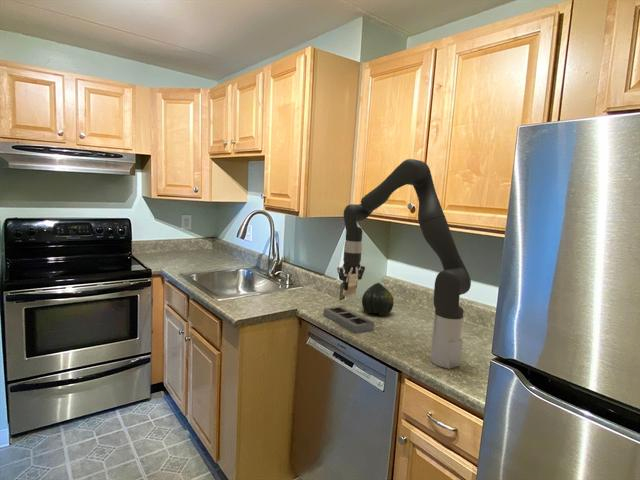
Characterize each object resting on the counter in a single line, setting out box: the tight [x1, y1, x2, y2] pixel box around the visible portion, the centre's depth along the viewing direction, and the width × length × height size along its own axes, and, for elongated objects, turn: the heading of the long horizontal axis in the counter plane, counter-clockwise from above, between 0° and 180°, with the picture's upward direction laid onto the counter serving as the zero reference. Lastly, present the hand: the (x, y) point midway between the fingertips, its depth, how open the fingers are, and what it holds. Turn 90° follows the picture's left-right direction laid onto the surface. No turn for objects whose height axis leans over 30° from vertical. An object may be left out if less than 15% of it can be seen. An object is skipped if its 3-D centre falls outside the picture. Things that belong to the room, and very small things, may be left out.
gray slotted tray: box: [322, 306, 375, 334], centre depth 165 cm, size 24×10×3 cm, turn 32°
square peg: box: [342, 273, 358, 298], centre depth 163 cm, size 4×4×10 cm
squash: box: [361, 282, 395, 317], centre depth 180 cm, size 14×15×15 cm
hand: (349, 289), depth 163 cm, fingers closed on square peg, 4 cm apart
